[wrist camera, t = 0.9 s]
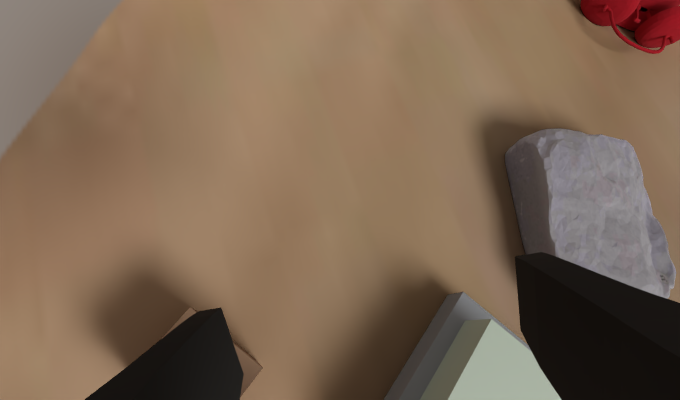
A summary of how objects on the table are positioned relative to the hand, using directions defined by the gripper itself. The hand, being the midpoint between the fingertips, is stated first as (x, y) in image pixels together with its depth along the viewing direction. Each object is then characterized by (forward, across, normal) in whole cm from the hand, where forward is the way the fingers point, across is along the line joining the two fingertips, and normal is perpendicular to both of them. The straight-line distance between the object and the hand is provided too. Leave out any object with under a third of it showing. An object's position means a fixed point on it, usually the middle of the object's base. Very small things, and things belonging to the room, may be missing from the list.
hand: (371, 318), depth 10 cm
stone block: (+18, -14, +8) cm, 24 cm away
